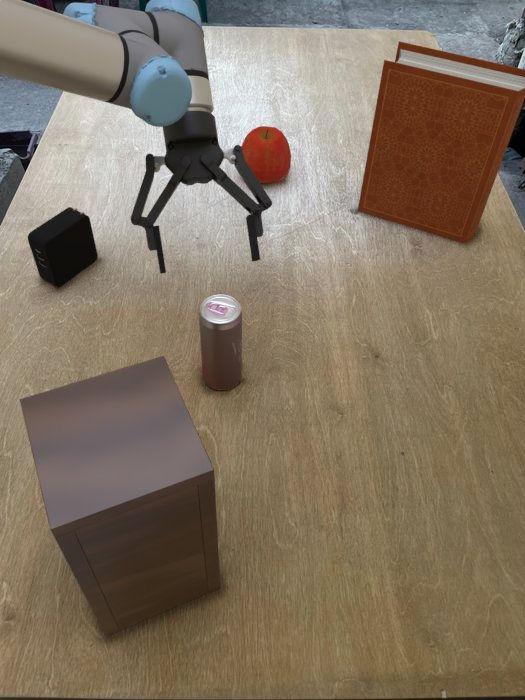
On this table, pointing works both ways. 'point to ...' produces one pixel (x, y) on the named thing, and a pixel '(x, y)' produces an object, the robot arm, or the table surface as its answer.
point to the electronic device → (63, 246)
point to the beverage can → (221, 341)
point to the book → (439, 139)
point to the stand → (127, 491)
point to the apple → (267, 154)
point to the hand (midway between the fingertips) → (210, 266)
